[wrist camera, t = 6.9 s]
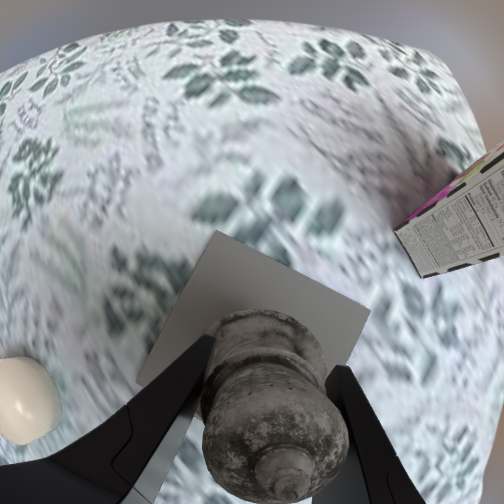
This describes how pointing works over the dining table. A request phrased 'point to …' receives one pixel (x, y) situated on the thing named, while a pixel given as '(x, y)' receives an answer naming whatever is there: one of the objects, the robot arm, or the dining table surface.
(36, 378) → the cream rounded squat cylinder
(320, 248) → the dining table surface
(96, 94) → the dining table surface
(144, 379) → the mat
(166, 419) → the robot arm
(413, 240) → the candy bar box
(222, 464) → the grey chess piece
